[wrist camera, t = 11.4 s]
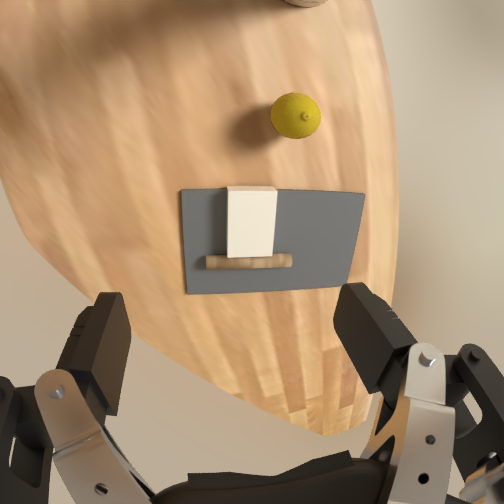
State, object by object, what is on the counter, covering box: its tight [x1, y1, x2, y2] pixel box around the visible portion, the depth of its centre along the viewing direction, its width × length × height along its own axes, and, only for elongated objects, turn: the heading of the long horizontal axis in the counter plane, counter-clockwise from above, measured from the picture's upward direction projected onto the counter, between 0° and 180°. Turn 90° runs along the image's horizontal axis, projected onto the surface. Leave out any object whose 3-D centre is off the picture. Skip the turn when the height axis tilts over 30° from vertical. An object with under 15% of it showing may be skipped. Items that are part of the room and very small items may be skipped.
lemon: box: [270, 93, 321, 139], centre depth 29 cm, size 6×6×8 cm
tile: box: [226, 186, 278, 258], centre depth 37 cm, size 2×6×9 cm
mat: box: [181, 189, 365, 295], centre depth 41 cm, size 16×26×1 cm, turn 87°
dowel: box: [206, 253, 292, 270], centre depth 40 cm, size 2×12×2 cm, turn 88°
